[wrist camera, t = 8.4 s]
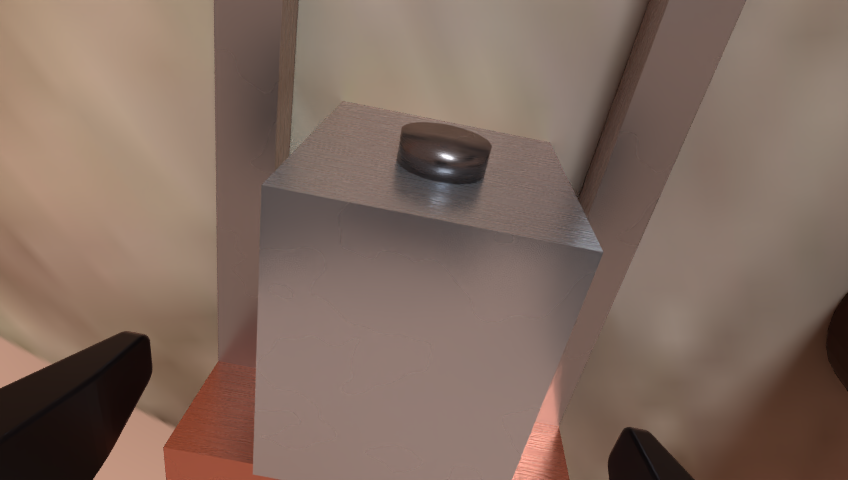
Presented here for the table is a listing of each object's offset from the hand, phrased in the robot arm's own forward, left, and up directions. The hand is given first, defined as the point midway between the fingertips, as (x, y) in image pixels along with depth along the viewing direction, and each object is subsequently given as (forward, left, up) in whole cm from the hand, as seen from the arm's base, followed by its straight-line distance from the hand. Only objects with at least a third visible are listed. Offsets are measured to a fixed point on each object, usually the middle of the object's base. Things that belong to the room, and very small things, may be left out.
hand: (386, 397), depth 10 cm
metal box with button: (0, 0, -6) cm, 6 cm away
